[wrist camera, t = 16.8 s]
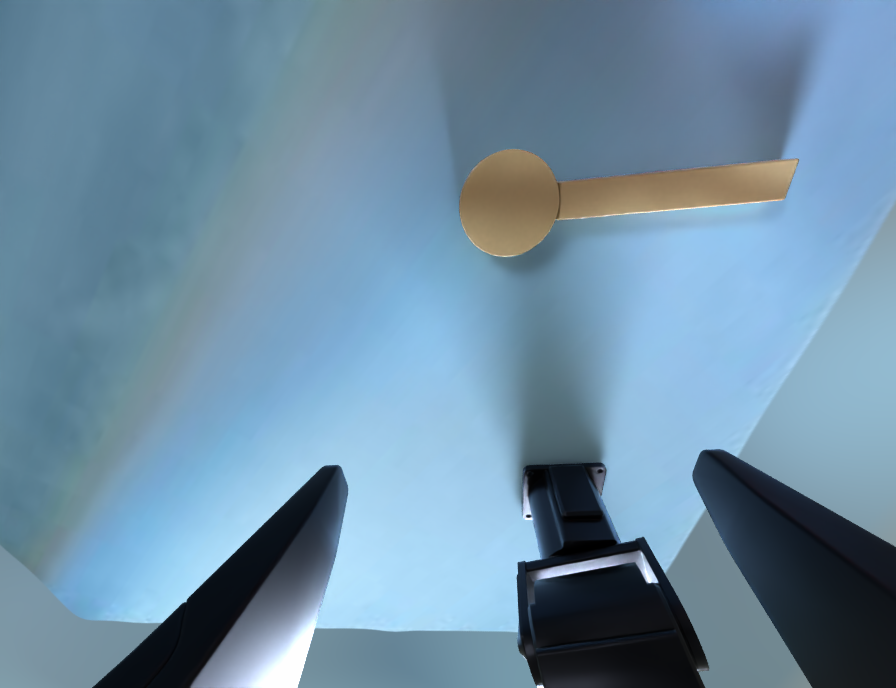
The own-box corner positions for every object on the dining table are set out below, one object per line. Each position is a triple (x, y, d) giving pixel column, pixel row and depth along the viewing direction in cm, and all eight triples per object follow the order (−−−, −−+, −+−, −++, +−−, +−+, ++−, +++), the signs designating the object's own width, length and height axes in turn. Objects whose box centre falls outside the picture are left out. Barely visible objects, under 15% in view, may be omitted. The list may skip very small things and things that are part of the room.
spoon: (757, 230, 17) (776, 234, 16) (462, 255, 19) (462, 260, 17) (795, 119, 15) (820, 115, 14) (455, 156, 16) (455, 154, 15)
